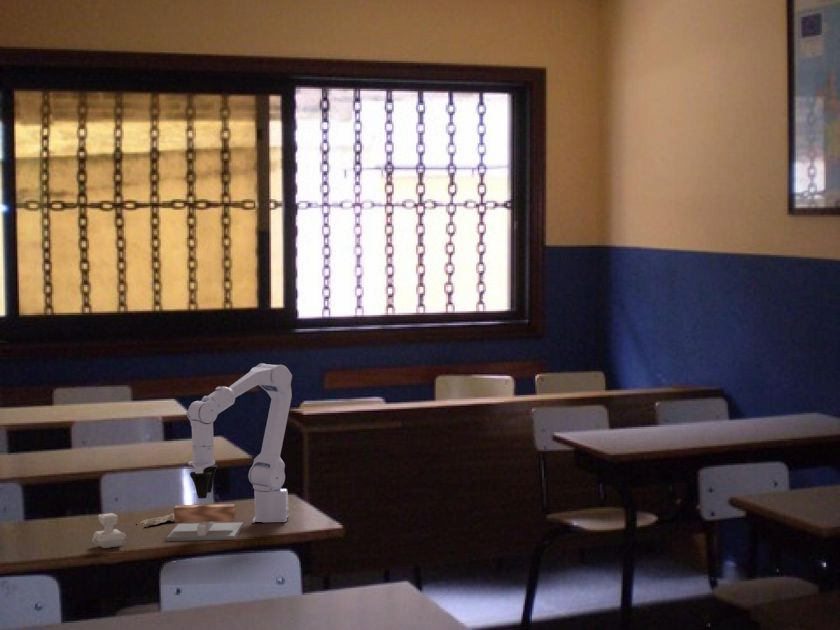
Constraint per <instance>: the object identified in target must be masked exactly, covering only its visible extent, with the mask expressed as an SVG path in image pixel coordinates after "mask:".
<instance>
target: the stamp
mask: <svg viewBox="0 0 840 630" xmlns="http://www.w3.org/2000/svg"><path fill="white" fill-rule="evenodd" d="M97 517H98V521H99V523H100V524H101V525H102V526H104V528H103V530H96V531H94V533H93V537H92V539H91V542H92V544H98V545H99V547H101V548H102V549H105V548H106V549H112V548H111V547H113V548H118V547H120V546H121V544H122V543H123V542H124V540H125V539H126V538H127V535H126V533H124V532H122V531H120V530H119V529H117V528H114V525H116V524H117V523H118V520H119V519H118V518H119V517H118V515H117V514H116V513H113V512H110V513H103V514H98V515H97Z"/></svg>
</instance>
